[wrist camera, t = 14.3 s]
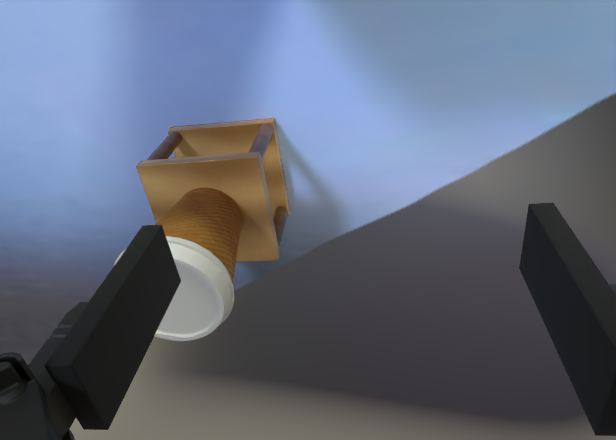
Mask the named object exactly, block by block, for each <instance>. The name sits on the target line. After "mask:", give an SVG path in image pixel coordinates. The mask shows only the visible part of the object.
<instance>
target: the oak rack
mask: <svg viewBox="0 0 616 440" xmlns="http://www.w3.org/2000/svg"><path fill="white" fill-rule="evenodd" d="M168 134H169V135H168V136H167V138H166V139H165V140H164V141H163V142H162V143H161V144H160V145H159V147H158V148H157V149H156V150H155V151H154V152H153V153H152V155H151V156H150V157H149V158H148V159H147V160H145V161H141V162H140V163H139V164H138V165H137V166H136V167H137V170H138V173H139V175H140V178H141V181H142V184H143V187H144V190H145V192H146V195H147V198H148V201H149V204H150V207H151V209H152V212H153V215H154V218H155V221H156V223H158V222H159V221H160V220H161V219H162V218H163V216H164V215H165V214H166V213H167V212H168V211H169V210H170V209H171V208H172V207H173V206H174V205H175V204H176V203H177V202H178V201H179V200H180V199H181V198H182V197H183V196H184V195H185V194H186V193H187V192H189V191H191V190H193V189H196V188H213V189H216V190H219V191H222V192H224V193H225V194H227V195H228V196H229V197H231V198H232V199H233V200H234V201H235V202H236V203H237V205H238V207H239V208H240V211H241V214H242V226H241V231H240V237H239V244H238V250H237V256H236V262H246V261H269V260H278V258H279V254H280V252H279V245H280V241H281V236H282V232H283V228H284V224H285V220H286V216H289V213H290V208H289V202H288V196H287V190H286V184H285V178H284V172H283V166H282V160H281V154H280V149H279V143H278V137H277V131H276V125H275V119H274V118H270V119H259V120H247V121H236V122H225V123H213V124H202V125H190V126H179V127H171V128H170V129H169V130H168ZM173 151H174V154H175V157H176V158H171V159H168V157H169V156H170V155H171V154H172V152H173Z"/></svg>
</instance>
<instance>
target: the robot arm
mask: <svg viewBox="0 0 616 440" xmlns="http://www.w3.org/2000/svg"><path fill="white" fill-rule="evenodd" d="M520 271H521V273H522V275H523V277H524V280H525V282H526V284H527V286H528V288H529V290H530V293H531V295H532V297H533V299H534V301H535V304H536V306H537V308H538V310H539V312H540V314H541V317H542V319H543V321H544V323H545V325H546V328H547V330H548V332H549V334H550V337H551V339H552V341H553V343H554V345H555V347H556V349H557V352H558V354H559V356H560V358H561V361H562V363H563V365H564V367H565V369H566V372H567V374H568V376H569V378H570V380H571V382H572V385H573V387H574V389H575V391H576V394H577V396H578V398H579V400H580V402H581V404H582V407H583V409H584V411H585V413H586V415H587V417H588V420H589V422H590V424H591V426H592V428H593V431H594V433H595V435H609V436H611V435H613V436H616V285H609V284H608V283H607V281H606V280H605V278H604V277H603V276H602V274H601V273H600V271H599V270H598V268H597V267H596V265H595V264H594V262H593V261H592V259H591V258H590V256H589V255H588V253H587V252H586V251H585V249H584V248H583V246H582V245H581V243H580V242H579V241H578V239H577V237H576V236H575V234H574V233H573V231H572V230H571V228H570V227H569V226H568V224H567V223H566V221H565V220H564V218H563V217H562V215H561V214H560V212H559V211H558V209H557V208H556V206H555V205H554V203H541V204H529V207H528V214H527V221H526V227H525V234H524V241H523V248H522V254H521V261H520ZM180 282H181V279H180V276H179V273H178V270H177V267H176V264H175V261H174V259H173V256H172V253H171V250H170V247H169V244H168V241H167V238H166V235H165V233H164V230H163V227H162V225H147V226H142V228H141V229H140V230H139V232H138V233H137V235H136V236H135V237H134V239H133V240H132V242H131V243H130V245H129V246H128V247H127V249H126V250H125V252H124V253H123V254H122V256H121V257H120V259H119V260H118V262H117V263H116V264H115V266H114V267H113V269H112V270H111V271H110V273H109V274H108V276H107V277H106V279H105V280H104V281H103V283H102V284H101V286H100V287H99V288H98V290H97V291H96V293H95V294H94V296H93V297H92V298H91V300H90V301H89V302H80V303H79V304H78V305H77V306H75V307H74V308H73V309H72V310H71V311H69V312H68V313H67V314H66V315H65V317H64V318H63V319H62V321H61V322H60V323H59V325H58V328H56V329H55V330H54V332H53V333H52V334H51V337H50V338H48V340H47V341H46V342H45V344H44V345H43V346H42V348H41V349H40V350H39V352H38V353H37V354H36V356H35V357H34V359H33V360H32V361H31V363H30V364H29V365H27V364H26V362H25V361H24V359H23V358H22V356H21V355H20V354H18V353H14V352H12V353H4V354H1V355H0V440H75V439H74V436H73V434H72V433H71V431H70V429H69V428H70V427H71V425H72V423H73V421H74V419H75V418H77V419H78V421H79V422H80V424H81V426H82V427H83V429H94V430H96V429H98V430H108V429H109V427H110V425H111V423H112V421H113V419H114V417H115V414H116V412H117V411H118V408H119V406H120V404H121V402H122V400H123V398H124V396H125V394H126V392H127V390H128V388H129V386H130V384H131V382H132V380H133V378H134V376H135V374H136V372H137V370H138V368H139V366H140V364H141V362H142V360H143V357H144V356H145V354H146V352H147V349H148V347H149V345H150V343H151V341H152V339H153V337H154V335H155V333H156V331H157V329H158V327H159V325H160V323H161V321H162V319H163V317H164V315H165V313H166V311H167V309H168V307H169V305H170V303H171V301H172V299H173V297H174V295H175V293H176V291H177V289H178V287H179V285H180Z"/></svg>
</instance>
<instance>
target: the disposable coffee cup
mask: <svg viewBox="0 0 616 440" xmlns="http://www.w3.org/2000/svg"><path fill="white" fill-rule="evenodd" d="M156 225H162V227H163V230H164V233H165V235H166V238H167V241H168V244H169V247H170V250H171V253H172V256H173V259H174V261H175V264H176V267H177V270H178V273H179V276H180V279H181V282H180V285H179V287H178V289H177V291H176V293H175V295H174V297H173V299H172V301H171V303H170V305H169V307H168V309H167V311H166V313H165V315H164V317H163V319H162V321H161V323H160V325H159V327H158V329H157V331H156V333H155V335H154V336H156V337H159V338H163V339H168V340H174V341H190V340H195V339H199V338H201V337H204V336H206V335H208V334H209V333H211V332H212V331H214V330H215V329H216V328H217V326H219V325H220V324H221V323H222V322H223V321H225V320H226V318H227V317H228V315H229V314H230V312H231V310H232V307H233V304H234V288H233V285H232V282H233V276H234V268H235V263H236V256H237V250H238V244H239V237H240V231H241V226H242V214H241V211H240V208H239V207H238V205H237V203H236V202H235V201H234V200H233V199H232V198H231V197H229V196H228V195H227V194H225V193H224V192H222V191H219V190H216V189H213V188H196V189H193V190H191V191H189V192H187V193H186V194H185V195H184V196H183V197H182V198H181V199H180V200H179V201H178V202H177V203H176V204H175V205H174V206H173V207H172V208H171V209H170V210H169V211H168V212H167V213H166V214H165V215H164V216H163V218H162V219H161V220H160V221H159V222H158V223H157V224H156ZM126 249H127V248H126ZM126 249H125V250H126ZM125 250H124V251H123V252H122V253H121V254H120V255H119V256H118V258H117V259H116V261H115V263H114V266H115V264H116V263H117V262H118V260H119V259H120V257H121V256H122V254H123V253H124V252H125Z"/></svg>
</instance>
